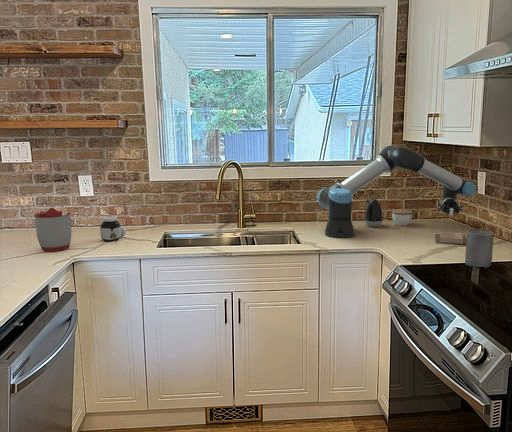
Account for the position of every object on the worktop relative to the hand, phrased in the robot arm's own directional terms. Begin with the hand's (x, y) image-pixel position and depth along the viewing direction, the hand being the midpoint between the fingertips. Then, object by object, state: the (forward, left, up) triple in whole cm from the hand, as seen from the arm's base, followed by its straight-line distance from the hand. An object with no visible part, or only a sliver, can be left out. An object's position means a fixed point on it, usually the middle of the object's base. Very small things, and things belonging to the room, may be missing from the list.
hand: (451, 212), depth 240 cm
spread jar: (-111, -132, -12) cm, 172 cm away
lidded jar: (-31, +3, -12) cm, 33 cm away
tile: (+7, -12, -10) cm, 17 cm away
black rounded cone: (-40, -11, -12) cm, 43 cm away
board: (+5, -10, -11) cm, 16 cm away
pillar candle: (+33, -41, -12) cm, 54 cm away
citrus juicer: (-111, -160, -12) cm, 195 cm away
